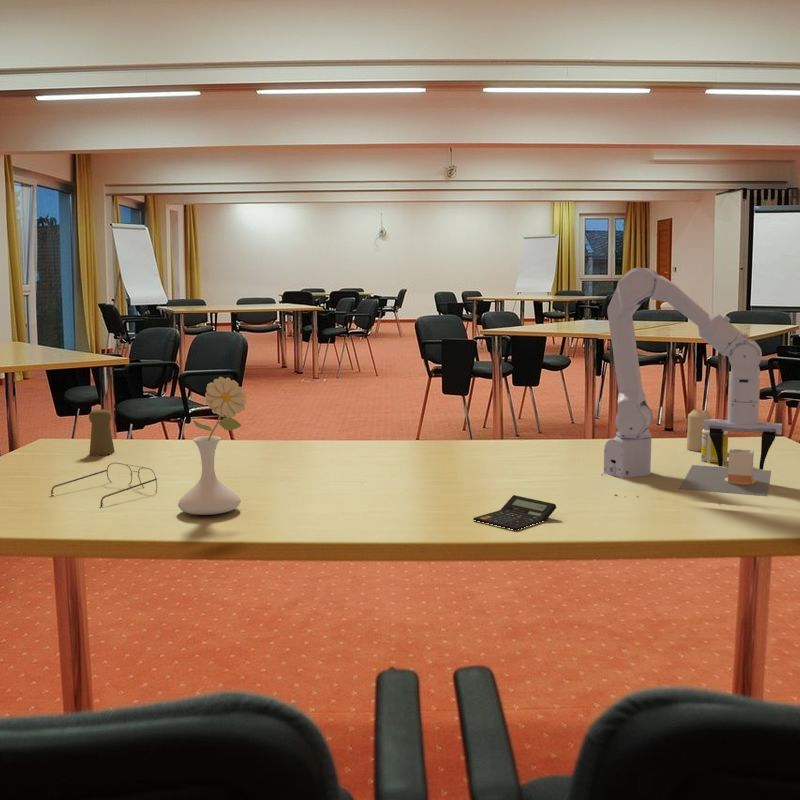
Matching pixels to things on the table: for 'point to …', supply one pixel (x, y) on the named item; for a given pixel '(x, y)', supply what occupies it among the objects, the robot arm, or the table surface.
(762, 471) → the pin board
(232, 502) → the flower in vase
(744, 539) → the table surface
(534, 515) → the calculator
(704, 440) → the supplement bottle
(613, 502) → the table surface
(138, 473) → the eyeglasses
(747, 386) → the robot arm
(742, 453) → the sleeve
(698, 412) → the beige bottle
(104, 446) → the brown tapered column
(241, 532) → the table surface
